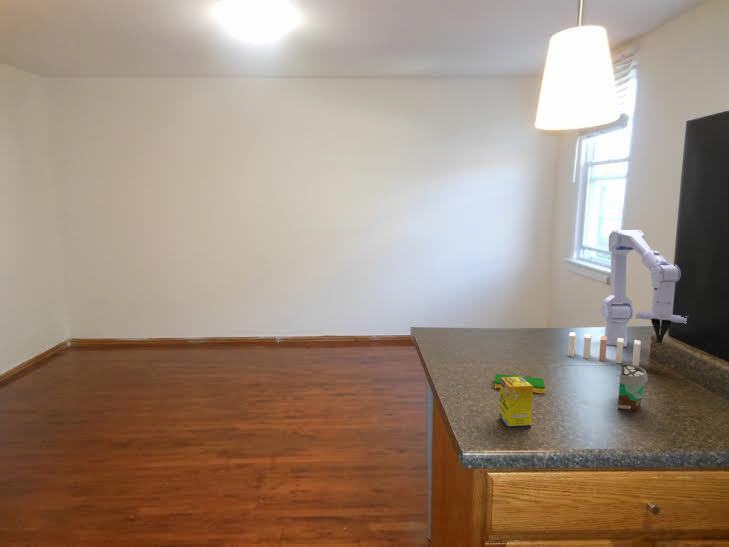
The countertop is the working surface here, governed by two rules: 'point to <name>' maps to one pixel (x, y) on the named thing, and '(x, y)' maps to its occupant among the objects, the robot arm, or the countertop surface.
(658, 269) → the robot arm
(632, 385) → the food container
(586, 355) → the domino
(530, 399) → the supplement box
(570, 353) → the domino
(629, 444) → the countertop surface
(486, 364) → the countertop surface
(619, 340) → the domino
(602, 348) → the domino
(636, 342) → the domino
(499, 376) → the dish sponge
